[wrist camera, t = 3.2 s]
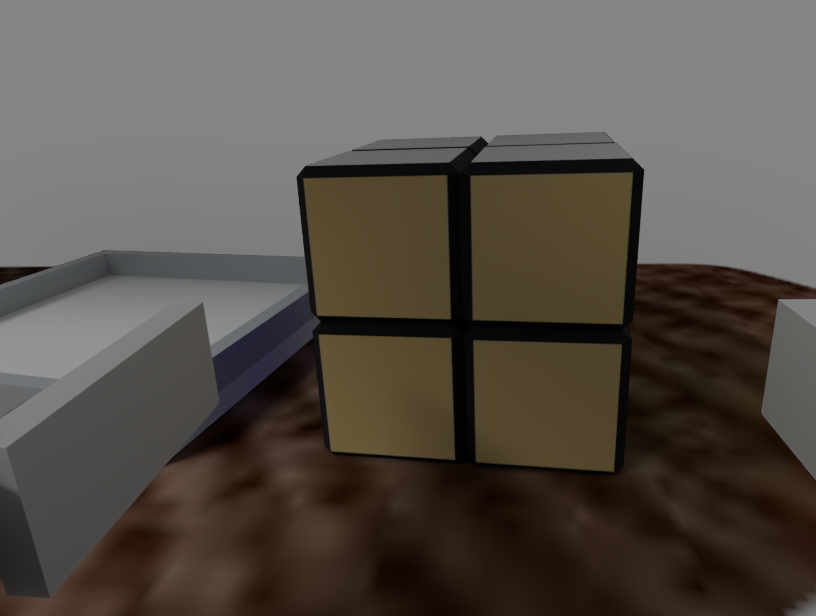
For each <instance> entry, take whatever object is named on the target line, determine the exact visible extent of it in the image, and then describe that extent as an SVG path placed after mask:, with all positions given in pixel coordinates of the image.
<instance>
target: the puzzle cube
mask: <svg viewBox="0 0 816 616" xmlns="http://www.w3.org/2000/svg"><path fill="white" fill-rule="evenodd" d="M643 179H644V169H643V168H642V167H641V166H640V165H639V164H638V163H637V162H636V161H635V160H634V159H633V158H632V157H631V156H630V155H629V154H628V153H627V152H625V151H624V150H623V149H622V148H621V147H620V146H619V145H618V144H617V143H615V142H614V141H613V140H612V139H611V138H610V137H609V136H608V135H607V134H606V133H605V132H592V133H562V134H535V135H504V136H496V137H495V138H494V139H493V140H492V141H491V142H490V143H489V144H488V143H487V142H486V141H485V140H484V139H483V138H482V137H452V138H423V139H392V140H380V141H377V142H374V143H371V144H368V145H365V146H362V147H359V148H356V149H353V150H352V151H348V152H345V153H342V154H339V155H336V156H333V157H330V158H327V159H324V160H322V161H319V162H316V163H313V164H310V165H307V166H305V167H304V168H303V170H302V171H301V172H300V173H299V174H298V176H297V186H298V196H299V205H300V215H301V225H302V233H303V244H304V253H305V263H306V272H307V282H308V292H309V301H310V311H311V313H312V314H313V315H314V316H316V317H317V318H318V319H319V320H320V321H321V322H320V323H319V324H318V325H317V326H316V327H315V328H314V329H313V330H312V333H313V342H314V351H315V361H316V370H317V379H318V388H319V397H320V406H321V415H322V424H323V434H324V443H325V447H326V448H327V449H328V450H329V451H330V452H332V453H333V454H340V455H354V456H368V457H382V458H396V459H410V460H424V461H438V462H452V463H458V462H459V461H460V460H462V459H463V458H464V457H465V456H466V455H467V457H468V458H469V459H470V460H472V461H473V462H474V463H475V464H476V465H488V466H502V467H516V468H530V469H544V470H558V471H572V472H586V473H600V474H614V473H616V472H617V471H618V470H620V469H621V468H623V464H624V449H625V435H626V420H627V406H628V391H629V376H630V362H631V347H632V339H631V336H630V333H629V330H628V327H627V325H628V324H630V323H631V322H632V321H633V312H634V299H635V285H636V272H637V259H638V245H639V231H640V218H641V205H642V190H643Z"/></svg>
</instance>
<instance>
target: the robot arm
mask: <svg viewBox="0 0 816 616" xmlns="http://www.w3.org/2000/svg"><path fill="white" fill-rule="evenodd" d="M218 404H219V397H218V391H217V385H216V378H215V372H214V366H213V360H212V354H211V348H210V341H209V335H208V329H207V323H206V317H205V311H204V305H203V302H173V303H171V304H170V305H168V306H167V307H166V308H164V309H163V310H161V311H160V312H158V313H157V314H155V315H154V316H152V317H151V318H149V319H148V320H146V321H145V322H143V323H142V324H140V325H139V326H137V327H136V328H134V329H133V330H131V331H130V332H128V333H127V334H125V335H124V336H122V337H121V338H119V339H118V340H117V341H115V342H114V343H112V344H111V345H109V346H108V347H106V348H105V349H103V350H102V351H100V352H99V353H97V354H96V355H94V356H93V357H91V358H90V359H88V360H87V361H85V362H84V363H82V364H81V365H79V366H78V367H76V368H75V369H73V370H72V371H71V372H69V373H68V374H66V375H65V376H63V377H62V378H60V379H59V380H57V381H56V382H54V383H53V384H51V385H50V386H48V387H47V388H45V389H44V390H42V391H41V392H39V393H38V394H36V395H35V396H33V397H32V398H30V399H29V400H27V401H25V402H23V403H22V404H20V405H19V406H17V407H16V408H14V409H13V410H11V411H10V412H8V413H7V414H5V415H4V417H2V418H0V575H1V578H2V581H3V584H4V587H5V591H6V594H7V595H13V596H28V597H43V598H51V596H52V595H53V594H54V593H55V592H56V591H57V590H58V588H59V587H60V586H61V585H62V584H63V583H64V581H65V580H66V579H67V578H68V577H69V576H70V575H71V573H72V572H73V571H74V570H75V569H76V568H77V566H78V565H79V564H80V563H81V562H82V561H83V560H84V558H85V557H86V556H87V555H88V554H89V553H90V551H91V550H92V549H93V548H94V547H95V546H96V545H97V543H98V542H99V541H100V540H101V539H102V538H103V537H104V535H105V534H106V533H107V532H108V531H109V530H110V528H111V527H112V526H113V525H114V524H115V523H116V522H117V520H118V519H119V518H120V517H121V516H122V515H123V513H124V512H125V511H126V510H127V509H128V508H129V507H130V505H131V504H132V503H133V502H134V501H135V500H136V498H137V497H138V496H139V495H140V494H141V493H142V492H143V490H144V489H145V488H146V487H147V486H148V485H149V484H150V482H151V481H152V480H153V479H154V478H155V477H156V475H157V474H158V473H159V472H160V471H161V470H162V469H163V467H164V466H165V465H166V464H167V463H168V462H169V460H170V459H171V458H172V457H173V456H174V455H175V454H176V452H177V451H178V450H179V449H180V448H181V447H182V445H183V444H184V443H185V442H186V441H187V440H188V439H189V437H190V436H191V435H192V434H193V433H194V432H195V430H196V429H197V428H198V427H199V426H200V425H201V424H202V422H203V421H204V420H205V419H206V418H207V417H208V416H209V414H210V413H211V412H212V411H213V410H214V409H215V407H216V406H217V405H218ZM761 414H762V415H763V416H764V417H765V418H766V420H767V421H768V422H769V423H770V425H771V426H772V427H773V428H774V430H775V431H776V432H777V433H778V434H779V436H780V437H781V438H782V439H783V441H784V442H785V443H786V444H787V446H788V447H789V448H790V449H791V450H792V452H793V453H794V454H795V455H796V457H797V458H798V459H799V460H800V461H801V463H802V464H803V465H804V466H805V468H806V469H807V470H808V471H809V473H810V474H811V475H812V476H813V477H814V479H815V480H816V299H778V305H777V312H776V318H775V325H774V332H773V338H772V345H771V351H770V358H769V365H768V371H767V378H766V384H765V391H764V397H763V404H762V411H761Z"/></svg>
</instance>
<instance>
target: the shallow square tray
mask: <svg viewBox="0 0 816 616" xmlns="http://www.w3.org/2000/svg"><path fill="white" fill-rule="evenodd" d="M173 302H203V305H204V311H205V317H206V323H207V329H208V335H209V341H210V348H211V354H212V360H213V366H214V372H215V378H216V385H217V391H218V397H219V404H218V405H217V406H216V407H215V409H214V410H213V411H212V412H211V413H210V414H209V416H208V417H207V418H206V419H205V420H204V421H203V422H202V424H201V425H200V426H199V427H198V428H197V429H196V430H195V432H194V433H193V434H192V435H191V436H190V437H189V439H188V440H187V441H186V442H185V443H184V444H183V445H182V447H181V448H180V449H179V450H178V451H177V452H176V454H177V453H178V452H179V451H181V450H182V449H183V448H184V447H185V446H186V445H188V444H189V443H190V442H191V441H192V440H193V439H195V438H196V437H197V436H198V435H199V434H201V433H202V432H203V431H204V430H205V429H206V428H208V427H209V426H210V425H211V424H212V423H213V422H215V421H216V420H217V419H218V418H219V417H221V416H222V415H223V414H224V413H225V412H226V411H228V410H229V409H230V408H231V407H232V406H233V405H235V404H236V403H237V402H238V401H239V400H240V399H242V398H243V397H244V396H245V395H246V394H248V393H249V392H250V391H251V390H252V389H253V388H255V387H256V386H257V385H258V384H259V383H260V382H262V381H263V380H264V379H265V378H266V377H268V376H269V375H270V374H271V373H272V372H273V371H275V370H276V369H277V368H278V367H279V366H280V365H282V364H283V363H284V362H285V361H286V360H287V359H289V358H290V357H291V356H292V355H293V354H295V353H296V352H297V351H298V350H299V349H300V348H302V347H303V346H304V345H305V344H306V343H307V342H309V341H310V340H311V339H312V338H313V333H312V330H313V329H314V328H315V327H316V326H317V325H318V324H319V323H320V322H321V321H320V320H319V319H318V318H317V317H316V316H314V315H313V314H312V313H311V311H310V301H309V292H308V282H307V272H306V263H305V257H288V256H259V255H229V254H198V253H170V252H140V251H109V250H103V251H101V252H98V253H94V254H91V255H89V256H86V257H83V258H79V259H76V260H74V261H71V262H67V263H65V264H61V265H58V266H55V267H52V268H49V269H46V270H43V271H40V272H37V273H34V274H31V275H28V276H25V277H22V278H19V279H16V280H13V281H10V282H7V283H4V284H1V285H0V418H2V417H4V415H5V414H7V413H8V412H10V411H11V410H13V409H14V408H16V407H17V406H19V405H20V404H22V403H23V402H25V401H27V400H29V399H30V398H32V397H33V396H35V395H36V394H38V393H39V392H41V391H42V390H44V389H45V388H47V387H48V386H50V385H51V384H53V383H54V382H56V381H57V380H59V379H60V378H62V377H63V376H65V375H66V374H68V373H69V372H71V371H72V370H73V369H75V368H76V367H78V366H79V365H81V364H82V363H84V362H85V361H87V360H88V359H90V358H91V357H93V356H94V355H96V354H97V353H99V352H100V351H102V350H103V349H105V348H106V347H108V346H109V345H111V344H112V343H114V342H115V341H117V340H118V339H119V338H121V337H122V336H124V335H125V334H127V333H128V332H130V331H131V330H133V329H134V328H136V327H137V326H139V325H140V324H142V323H143V322H145V321H146V320H148V319H149V318H151V317H152V316H154V315H155V314H157V313H158V312H160V311H161V310H163V309H164V308H166V307H167V306H168V305H170V304H171V303H173ZM176 454H175V455H176ZM175 455H174V456H175ZM174 456H173V457H174Z"/></svg>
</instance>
